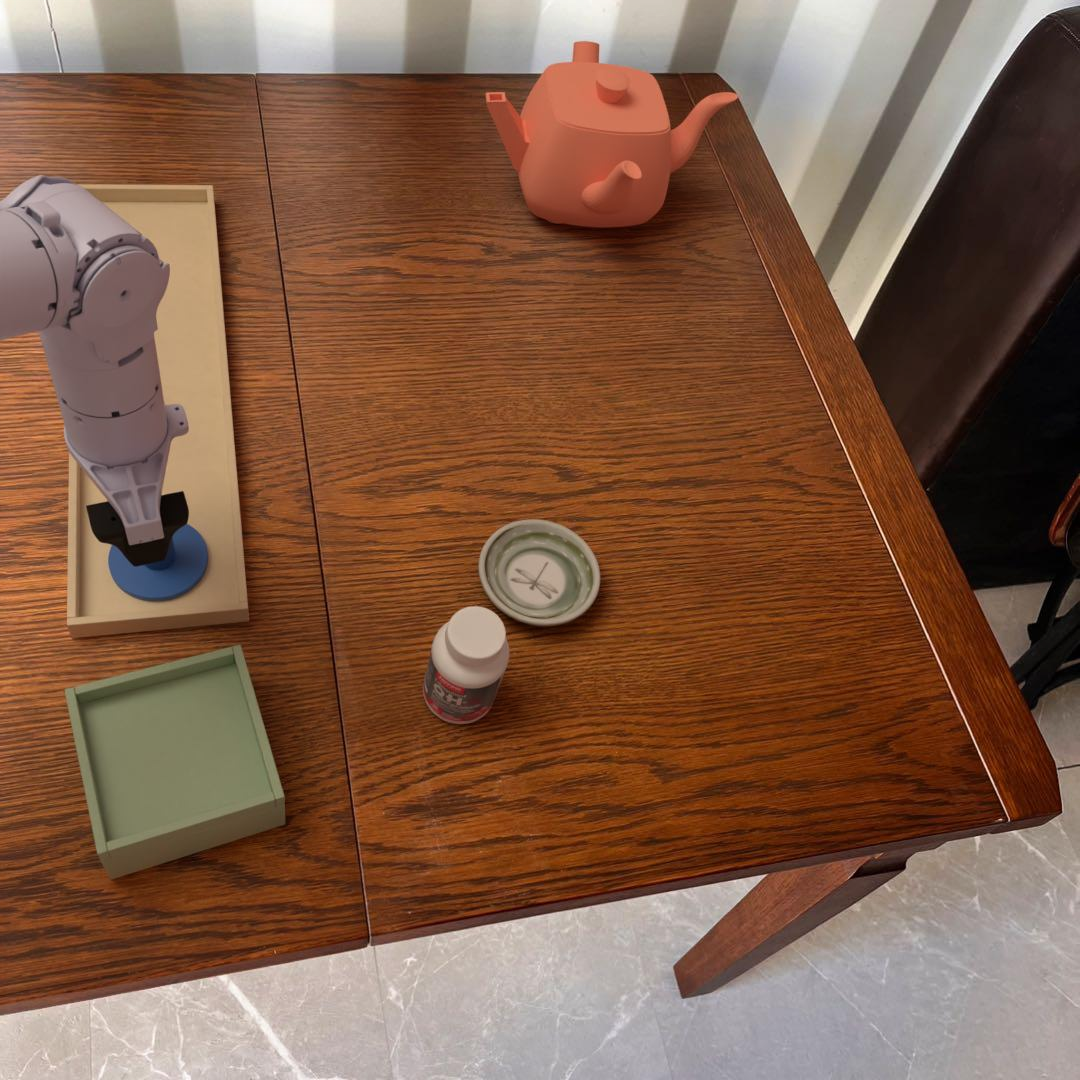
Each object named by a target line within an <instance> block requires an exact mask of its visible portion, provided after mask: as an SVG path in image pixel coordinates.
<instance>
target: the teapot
mask: <svg viewBox="0 0 1080 1080" xmlns="http://www.w3.org/2000/svg"><path fill="white" fill-rule="evenodd" d="M571 60H572V61H563V62H557V63H552V64H550V65H547V66H546V68H545V69H544V70H543V72H542V73H541V75H540V76H539V78H538V79H537V81H536V82H535V84H534V85H533V87H532V89H531V91H530V92H529V94H528V96H527V98H526V100H525V102H524V104H523V107H522V109H521V113H520V114H519V113H518V112H517V110H516V109H515V107H514V106H513V105H512V103H511V101H510V100H509V99H508V97H507V96H506V92H505V91H495V92H491V91H490V92H485V101H486V107H487V109H488V111H489V114H490V116H491V118H492V120H493V123H494V125H495V127H496V130H497V133H498V134H499V136H500V139H501V141H502V144H503V146H504V149H505V151H506V154H507V156H508V158H509V160H510V162H511V165H512V167H513V169H514V171H517V176H518V180H519V184H520V187H521V192H522V195H523V198H524V200H525V203H526V206H527V208H528V210H529V212H531V213H532V215H534V216H536V217H538V218H540V219H543V220H547V222H550V223H553V224H556V225H557V224H558V225H559V224H565V225H572V226H577V227H587V228H623V227H624V228H625V227H633V226H638V225H642V224H645V223H646V222H649V221H650V220H651V219H653V217H655V215H656V214H657V213H658V212H659V211H660V210H661V209H662V207H663V205H664V202H665V199H666V196H667V192H668V189H669V188H668V187H669V182H670V177H671V174H672V173H674V172H675V171H677V170H678V169H679V168H681V167H683V166H684V165H685V163H687V161H688V160H690V158H691V156H692V155H693V153H694V152H695V149H696V147H697V145H698V144H699V141H700V140H701V139H700V138H701V137H702V135H703V132H704V130H705V128H706V126H707V124H708V123H709V121H710V120H711V119H712V117H713V116H714V115H715V114H716V113H717V112H718V111H719V110H720V109H722V108H724V107H726V106H727V105H730V104H732V103H733V102H735V101H737V100H738V98H739V95H738V94H737V93H735V92H731V91H722V92H721V91H720V92H716V93H712V94H710V95H707V96H706V97H704V98H703V99H701V100H700V101H699V102H698V103H697V104H695V106H694V107H693V108H692V109H691V111H690V112H689V114H688V115H687V116H686V117H685V119H684V120H683V121H682V122H681V123H680V124H679V125H678V126H676V127H674V128H673V129H671V119H670V116H669V112H668V109H667V105H666V101H665V99H664V95H663V92H662V90H661V87H660V85H659V83H658V81H657V79H656V77H655V76H654V75H653V74H651V73H649V72H647V71H645V70H641V69H638V68H634V67H629V66H624V65H618V64H611V63H602V62H600V43H598V42H593V41H588V40H587V41H586V40H581V41H575V42H573V47H572V59H571Z"/></svg>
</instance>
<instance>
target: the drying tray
mask: <svg viewBox="0 0 1080 1080" xmlns="http://www.w3.org/2000/svg"><path fill="white" fill-rule="evenodd" d="M76 184H77V185H78V186H81V187H83V188H84V189H86V190H87V191H89V192H90V193H91V194H92V195H94V196H95V197H96V198H97V199H99V200H100V201H101V202H102V203H104V204H105V205H106V206H107V207H109V208H110V209H111V210H112V211H114V212H115V213H116V214H117V215H119V216H120V217H121V218H122V219H124V220H125V221H126V222H127V223H129V224H130V225H131V226H132V227H134V228H135V229H136V230H137V231H139V232H140V233H141V234H142V235H144V236H145V237H146V238H147V239H149V240H150V241H151V242H152V243H153V245H154V246H155V248H156V250H157V253H158V256H159V259H161V260H162V261H163V262H164V263H163V265H164V264H165V263H169V264H170V276H169V281H168V285H167V288H166V291H165V293H164V296H163V298H162V300H161V301H160V303H159V306H158V308H157V312H156V320H157V327H158V330H156V331H155V332H154V338H155V344H156V350H157V357H158V363H159V370H160V377H161V383H162V390H163V397H164V403H165V405H171V404H179V405H181V406H182V407H183V408H184V410H185V414H186V417H187V420H188V426H189V431H188V432H187V434H185V435H183V436H178V437H175V438H173V440H172V441H171V445H170V451H169V456H168V462H167V467H166V472H165V478H164V483H163V489H162V494H161V495H165V494H170V493H175V492H180V491H184V495H185V498H186V502H187V505H188V509H189V517H188V522H187V524H189V525H190V526H192V527H193V528H194V529H196V530H197V531H198V532H199V533H200V535H201V536H202V537H203V539H204V541H205V543H206V546H207V551H208V566H207V569H206V572H205V574H204V576H203V578H202V579H201V581H200V582H199V583H198V584H197V585H196V586H195V587H194V588H193V589H192V590H190V591H189V592H187V593H186V594H184V595H182V596H180V597H177V598H174V599H171V600H166V601H157V602H155V601H145V600H140V599H137V598H134V597H132V596H130V595H128V594H126V593H125V592H124V591H122V590H121V589H120V588H119V587H118V586H117V584H116V583H115V582H114V580H113V578H112V576H111V573H110V570H109V564H108V557H109V552H110V549H111V546H112V545H111V544H107V543H101V542H99V541H98V539H97V538H96V537H95V535H94V534H93V532H92V529H91V526H90V521H89V517H88V513H87V509H86V506H87V505H92V504H97V503H102V502H107V501H108V500H107V499H106V498H105V497H104V495H103V494H102V493H101V492H100V490H99V489H98V488H97V487H96V485H95V484H94V483H93V482H92V480H91V479H90V478H89V477H88V475H87V474H86V473H85V472H84V470H83V469H82V468H81V467H80V465H79V464H78V463H77V462H76V460H75V459H74V458H73V457H72V455H71V454H70V452H69V451H68V493H67V495H68V496H67V497H68V501H67V502H68V503H67V569H66V570H67V571H66V572H67V573H66V574H67V576H66V577H67V578H66V581H67V582H66V586H67V587H66V592H67V593H66V626H67V629H68V632H69V635H70V638H71V639H79V638H89V637H91V638H92V637H100V636H111V635H121V634H132V633H143V632H152V631H153V632H155V631H163V630H174V629H175V630H176V629H184V628H194V627H205V626H216V625H227V624H238V623H244V622H245V623H247V622H250V613H249V612H250V611H249V601H248V599H249V598H248V589H247V588H248V587H247V578H246V565H245V551H244V540H243V529H242V528H243V527H242V516H241V504H240V492H239V480H238V470H237V468H238V467H237V457H236V444H235V433H234V422H233V409H232V396H231V385H230V373H229V362H228V349H227V338H226V336H227V335H226V325H225V314H224V301H223V289H222V277H221V265H220V251H219V239H218V229H217V228H218V227H217V217H216V206H215V194H214V193H215V191H214V185H213V184H119V183H118V184H117V183H116V184H114V183H113V184H112V183H111V184H110V183H107V184H106V183H105V184H103V183H101V184H100V183H98V184H95V183H83V184H82V183H76Z"/></svg>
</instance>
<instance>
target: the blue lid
mask: <svg viewBox="0 0 1080 1080" xmlns="http://www.w3.org/2000/svg"><path fill="white" fill-rule="evenodd" d="M108 564H109V570H110V573H111V576H112V578H113V580H114V582H115V583H116V584H117V586H118V587H119V588H120V589H121V590H122V591H124V592H125V593H126V594H128V595H130V596H132V597H134V598H137V599H140V600H145V601H155V602H157V601H166V600H171V599H174V598H177V597H180V596H182V595H184V594H186V593H187V592H189V591H190V590H192V589H193V588H194V587H195V586H196V585H197V584H198V583H199V582H200V581H201V579H202V578H203V576H204V574H205V572H206V569H207V566H208V551H207V546H206V543H205V541H204V539H203V537H202V536H201V535H200V533H199V532H198V531H197V530H196V529H194V528H193V527H192V526H190V525H189V524H186V525H184V526H183V527H181V528H180V529H179V530H177V531H176V532H175V533H174V535H173V537H172V539H171V542H170V546H169V549H168V553H167V555H166V558H165V559H164V561H159V562H155V563H150V564H146V565H141V566H137V567H135V566H133V565H132V564H131V563H130V562H129V561H128V560H127V559H126V557H125V556H124V555H123V554H122V552H121V551H120V550H119V549H118V548H117V547H116V546H114V545H112V546H111V549H110V552H109V557H108Z"/></svg>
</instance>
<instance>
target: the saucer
mask: <svg viewBox="0 0 1080 1080" xmlns="http://www.w3.org/2000/svg"><path fill="white" fill-rule="evenodd" d="M477 567H478V568H477V571H478V577H479V582H480V584H481V587H482V589H483V592H484V593H485V595H486V596H487V598H488V600H490V601H491V603H492V604H493V605H494V607H495V608H496V609H498V610H499V611H501V612H502V613H503V614H504V615H506V616H507V617H510V618H511V619H513V620H515V621H517V622H520V623H522V624H527V625H530V626H536V627H555V626H561V625H564V624H567V623H570V622H572V621H574V620H576V619H578V618H579V617H581V616H582V615H584V614H585V613H586V612H587V611H588V610H589V609H590V608H591V607H592V605H593V604H594V602H595V601H596V599H597V597H598V594H599V591H600V586H601V569H600V566H599V562H598V559H597V557H596V555H595V553H594V552H593V550H592V548H591V547H590V546H589V544H588V543H587V542H586V541H585V540H584V539H583V538H582V536H580V535H578V534H577V533H576V532H575V531H573V530H571V529H570V528H568V527H566V526H564V525H562V524H559V523H557V522H554V521H550V520H545V519H536V518H533V519H532V518H529V519H522V520H516V521H513V522H509V523H508V524H505V525H503V526H501V527H500V528H499V529H497V530H496V531H494V532H493V533H492V534H491V535H490V536H489V538H488V539H486V541H485V542H484V544H483V547H482V549H481V550H480V554H479V558H478V566H477Z"/></svg>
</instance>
